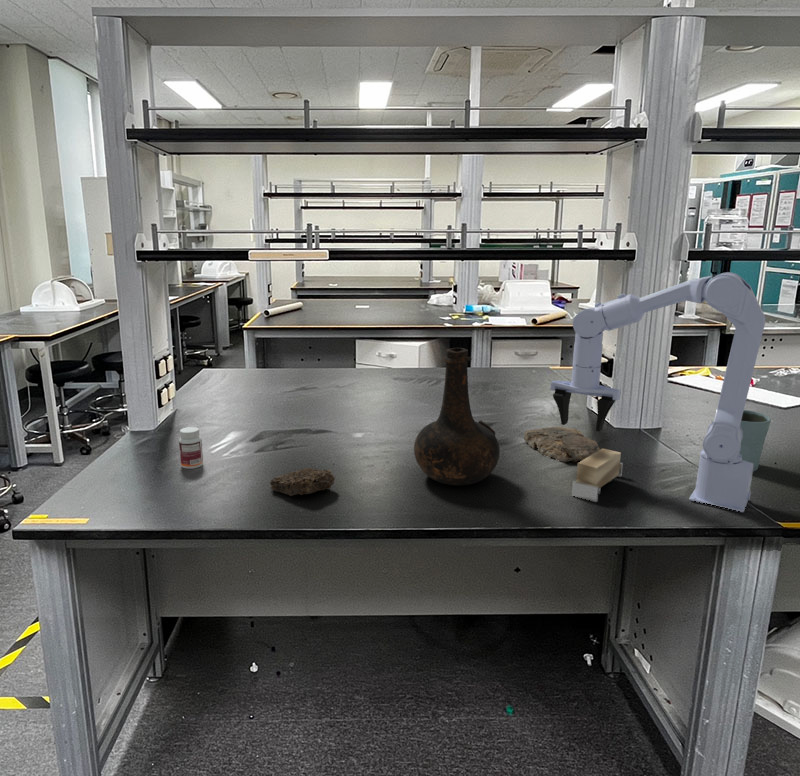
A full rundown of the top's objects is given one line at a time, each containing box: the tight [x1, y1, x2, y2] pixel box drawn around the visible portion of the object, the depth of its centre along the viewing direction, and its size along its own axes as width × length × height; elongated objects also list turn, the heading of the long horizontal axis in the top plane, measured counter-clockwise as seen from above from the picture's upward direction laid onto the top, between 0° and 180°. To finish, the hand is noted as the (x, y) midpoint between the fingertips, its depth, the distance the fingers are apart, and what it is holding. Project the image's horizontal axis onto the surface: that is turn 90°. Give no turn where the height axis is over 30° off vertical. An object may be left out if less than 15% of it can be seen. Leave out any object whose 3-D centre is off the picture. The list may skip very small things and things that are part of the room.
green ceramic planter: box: [739, 409, 772, 472], centre depth 137 cm, size 10×10×12 cm
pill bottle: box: [178, 426, 204, 470], centre depth 135 cm, size 5×5×8 cm
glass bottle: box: [413, 347, 501, 486], centre depth 127 cm, size 18×18×28 cm
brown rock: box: [269, 467, 335, 497], centre depth 122 cm, size 12×10×5 cm
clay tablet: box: [523, 426, 601, 463], centre depth 146 cm, size 14×5×20 cm
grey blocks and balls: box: [570, 462, 624, 503], centre depth 126 cm, size 5×17×3 cm, turn 144°
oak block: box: [575, 448, 622, 488], centre depth 125 cm, size 4×12×5 cm, turn 139°
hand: (581, 426), depth 131 cm, fingers open, 7 cm apart
